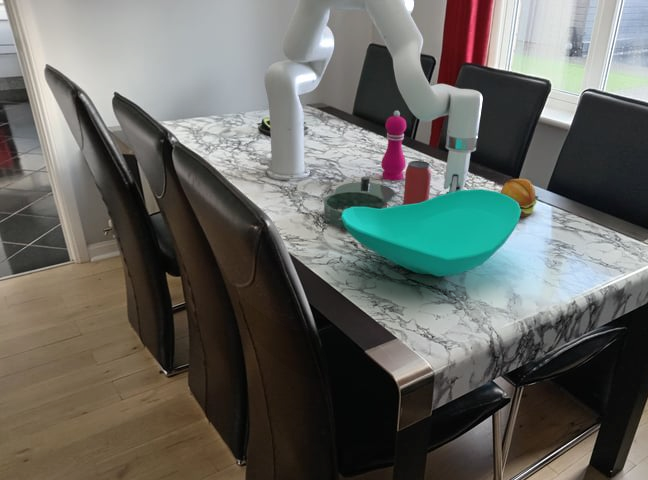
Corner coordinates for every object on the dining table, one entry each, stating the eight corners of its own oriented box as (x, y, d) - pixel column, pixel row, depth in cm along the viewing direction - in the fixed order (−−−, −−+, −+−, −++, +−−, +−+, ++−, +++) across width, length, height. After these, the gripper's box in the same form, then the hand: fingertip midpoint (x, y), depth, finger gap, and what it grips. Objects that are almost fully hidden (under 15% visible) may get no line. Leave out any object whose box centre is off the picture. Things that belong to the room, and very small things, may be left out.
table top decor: (465, 228, 143) (472, 176, 136) (542, 277, 122) (554, 219, 115) (317, 256, 125) (316, 198, 118) (377, 318, 104) (381, 252, 98)
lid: (327, 201, 153) (327, 183, 151) (345, 182, 167) (345, 165, 165) (386, 210, 150) (388, 191, 148) (400, 189, 164) (401, 172, 162)
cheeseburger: (536, 206, 158) (543, 175, 151) (530, 229, 151) (537, 197, 144) (500, 200, 160) (504, 169, 154) (492, 222, 153) (497, 190, 146)
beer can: (410, 214, 149) (414, 169, 143) (398, 205, 154) (401, 161, 148) (432, 210, 152) (436, 166, 146) (419, 202, 157) (423, 159, 151)
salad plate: (292, 122, 225) (292, 110, 223) (321, 132, 214) (321, 120, 212) (250, 129, 213) (249, 116, 211) (278, 140, 202) (278, 127, 200)
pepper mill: (402, 183, 169) (407, 114, 159) (378, 181, 170) (381, 112, 160) (406, 176, 175) (411, 109, 166) (383, 173, 176) (386, 106, 167)
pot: (311, 230, 137) (311, 212, 134) (337, 200, 154) (338, 184, 152) (374, 239, 134) (375, 222, 132) (393, 208, 152) (394, 192, 149)
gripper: (450, 132, 150) (443, 199, 159) (441, 149, 135) (433, 221, 144) (479, 135, 148) (470, 202, 157) (473, 153, 134) (463, 225, 143)
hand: (453, 211), depth 151 cm, fingers closed on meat, 4 cm apart
